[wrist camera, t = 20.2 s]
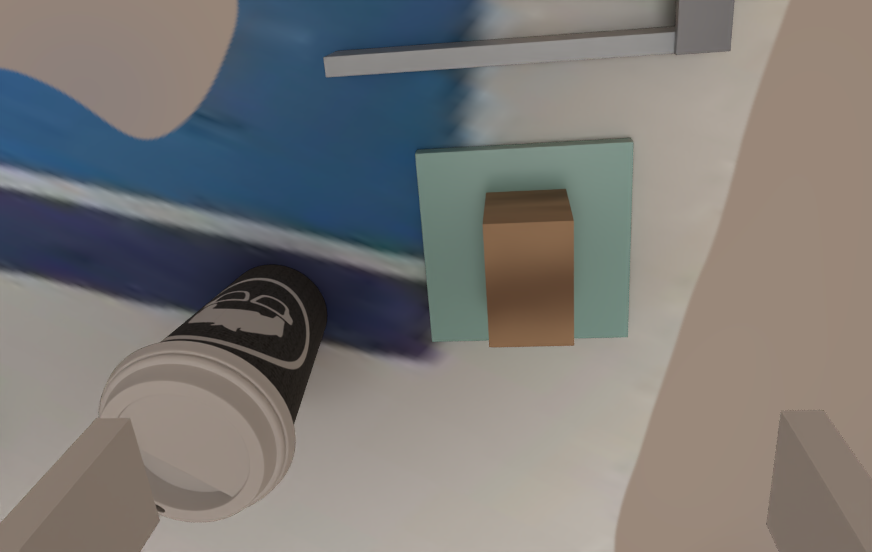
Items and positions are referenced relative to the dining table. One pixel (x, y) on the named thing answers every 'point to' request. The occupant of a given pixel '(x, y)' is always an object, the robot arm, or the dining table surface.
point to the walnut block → (529, 268)
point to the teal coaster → (523, 171)
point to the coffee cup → (222, 395)
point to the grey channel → (551, 45)
